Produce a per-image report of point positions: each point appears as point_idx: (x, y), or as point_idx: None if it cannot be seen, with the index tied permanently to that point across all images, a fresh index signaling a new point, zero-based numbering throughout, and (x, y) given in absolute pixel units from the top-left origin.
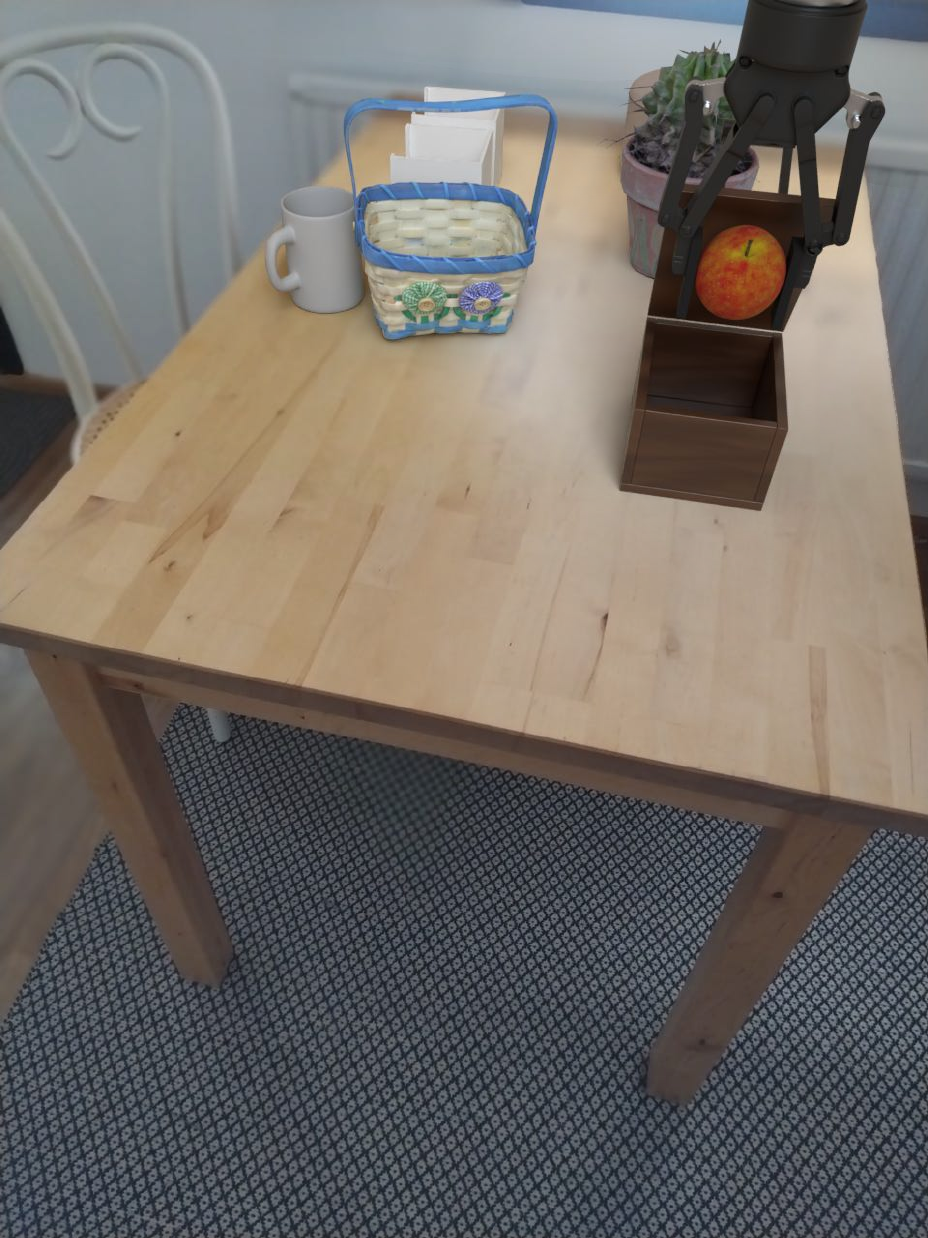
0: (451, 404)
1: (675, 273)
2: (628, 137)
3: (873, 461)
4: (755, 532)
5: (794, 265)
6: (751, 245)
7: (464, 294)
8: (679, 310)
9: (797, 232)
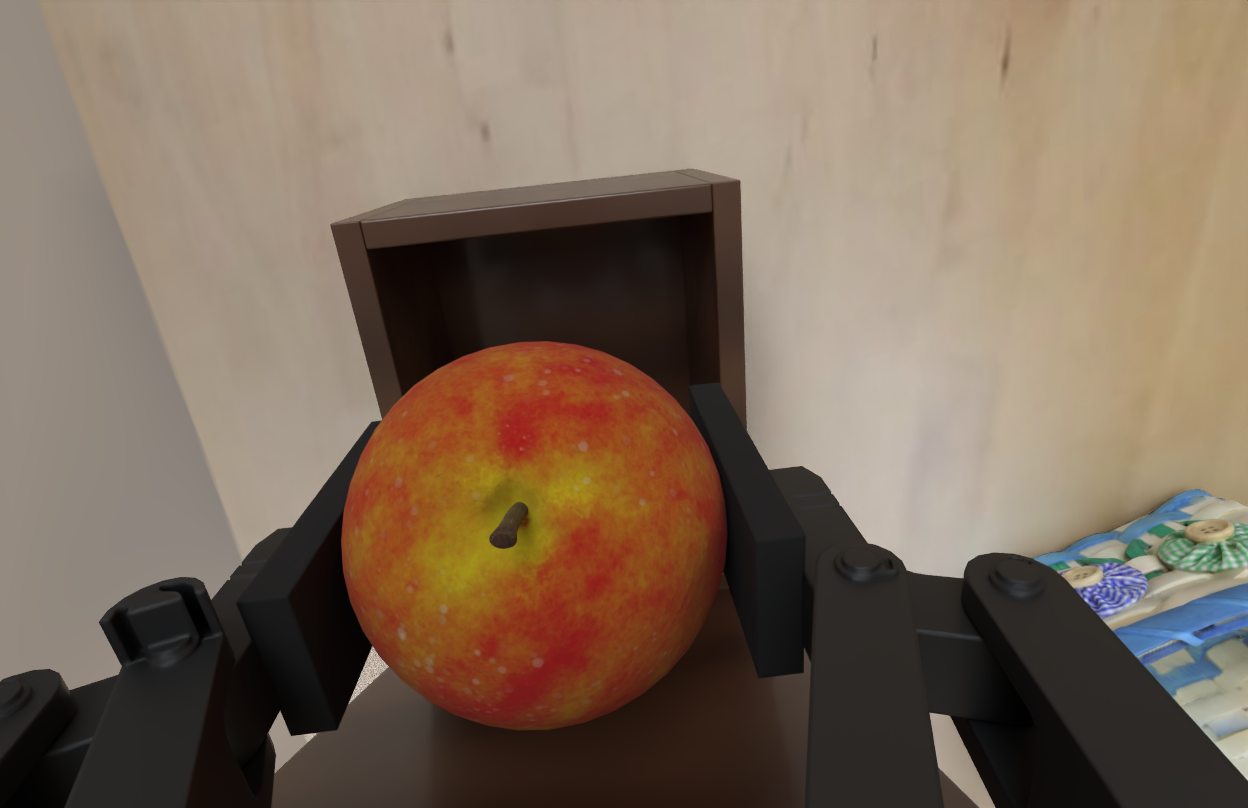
0: (1054, 340)
1: (793, 468)
2: None
3: (232, 433)
4: (399, 123)
5: (293, 553)
6: (503, 558)
7: (1139, 576)
8: (720, 392)
9: (351, 797)
